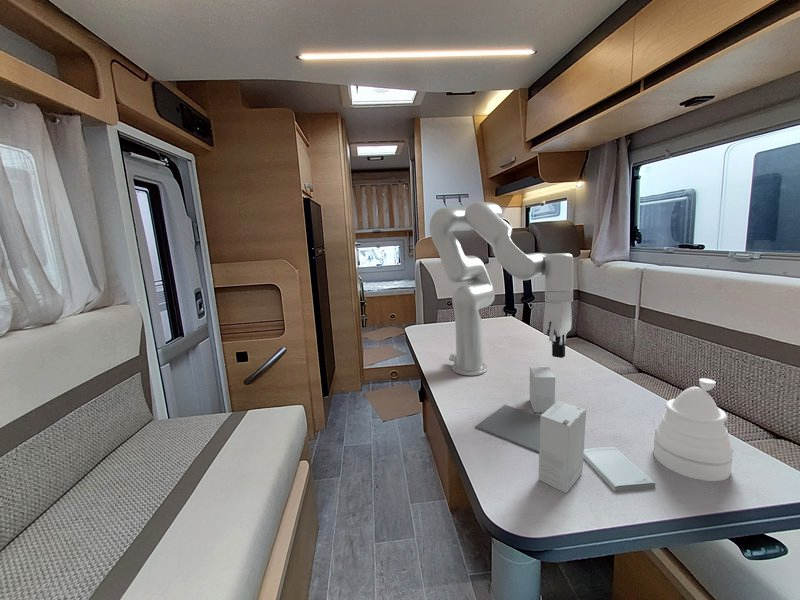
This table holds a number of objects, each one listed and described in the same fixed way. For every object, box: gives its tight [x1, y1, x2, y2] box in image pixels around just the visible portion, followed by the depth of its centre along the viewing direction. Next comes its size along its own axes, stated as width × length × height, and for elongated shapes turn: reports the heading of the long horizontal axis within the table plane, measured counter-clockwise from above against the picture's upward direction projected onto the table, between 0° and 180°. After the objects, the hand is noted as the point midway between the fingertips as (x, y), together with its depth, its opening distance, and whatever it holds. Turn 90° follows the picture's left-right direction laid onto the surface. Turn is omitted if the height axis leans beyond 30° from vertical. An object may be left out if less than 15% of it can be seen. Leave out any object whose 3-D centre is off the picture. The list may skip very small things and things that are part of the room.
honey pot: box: [652, 377, 734, 482], centre depth 75 cm, size 13×13×18 cm
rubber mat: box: [474, 404, 541, 454], centre depth 92 cm, size 20×16×1 cm
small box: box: [529, 366, 556, 413], centre depth 102 cm, size 8×6×10 cm
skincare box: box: [538, 400, 587, 494], centre depth 72 cm, size 8×6×15 cm
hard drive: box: [583, 445, 656, 492], centre depth 75 cm, size 2×8×12 cm
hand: (558, 356), depth 107 cm, fingers closed
